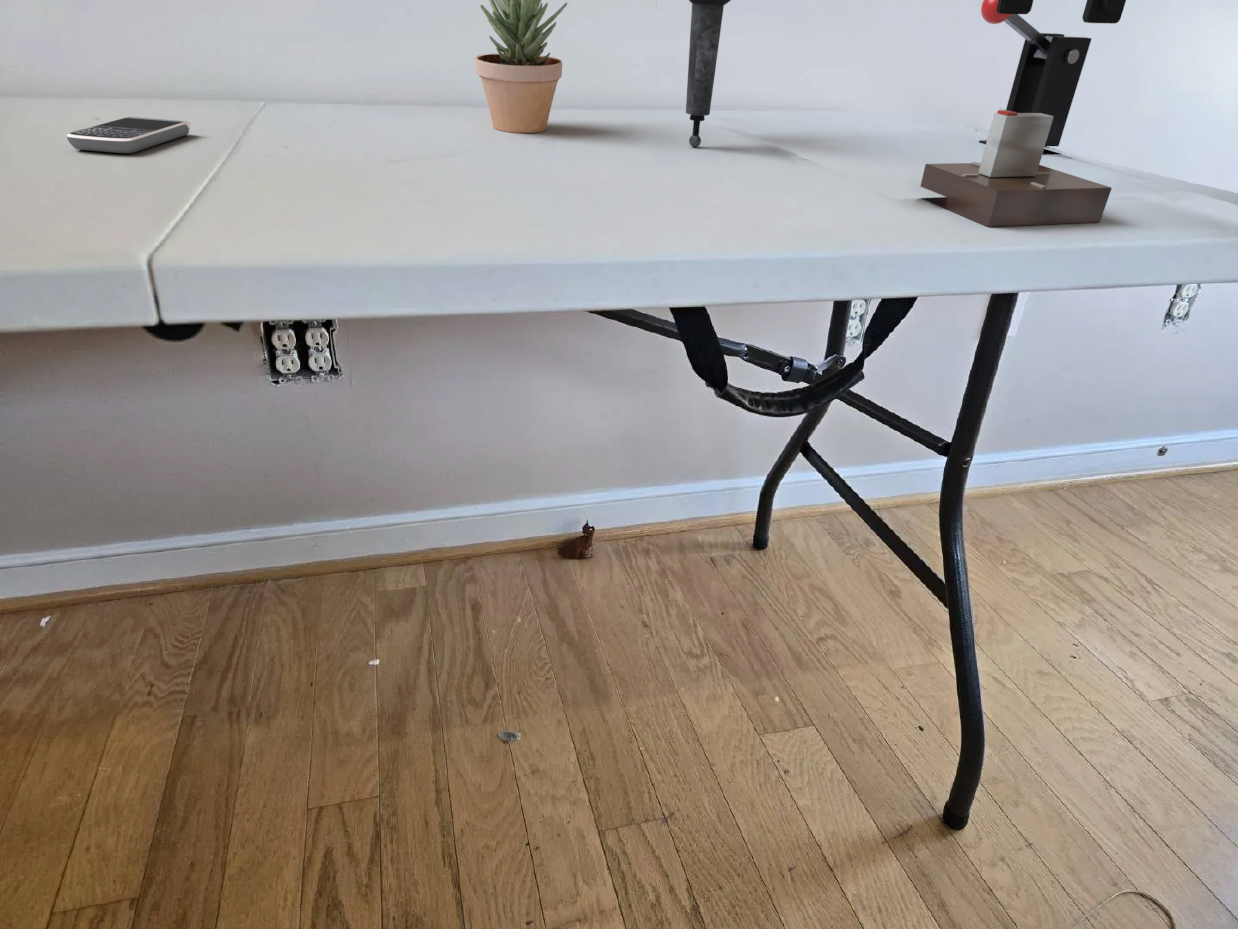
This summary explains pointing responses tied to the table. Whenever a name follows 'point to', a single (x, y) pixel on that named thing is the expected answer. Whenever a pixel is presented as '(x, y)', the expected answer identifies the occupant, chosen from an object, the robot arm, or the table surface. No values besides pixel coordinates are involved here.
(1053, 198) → the brown flat block
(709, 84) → the dark grey tapered rod
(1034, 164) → the grey block
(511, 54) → the potted plant
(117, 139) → the cell phone
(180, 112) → the table surface
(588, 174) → the table surface
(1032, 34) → the switch lever
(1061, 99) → the bracket
